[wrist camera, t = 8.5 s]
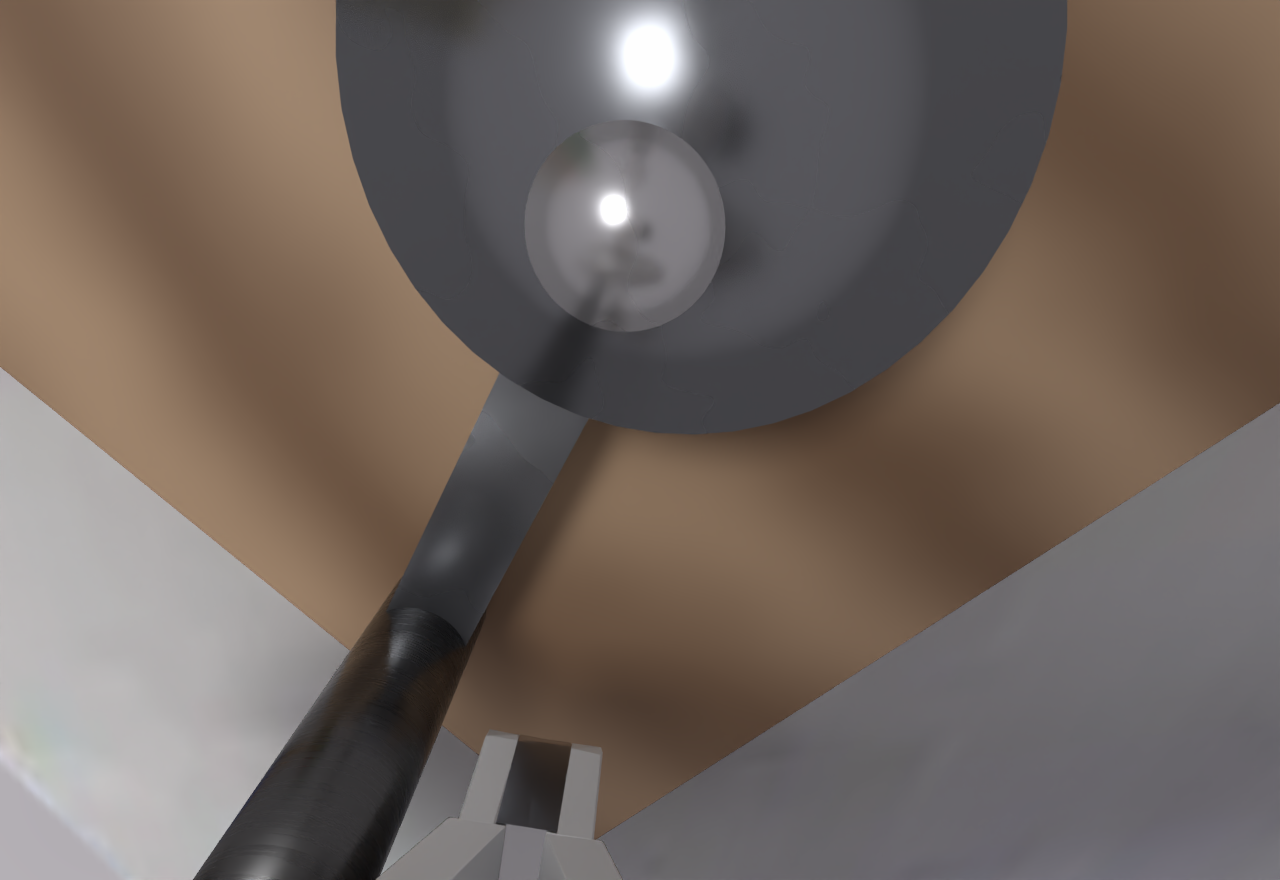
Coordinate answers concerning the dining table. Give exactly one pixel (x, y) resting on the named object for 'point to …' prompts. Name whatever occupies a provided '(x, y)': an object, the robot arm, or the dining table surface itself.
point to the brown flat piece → (605, 454)
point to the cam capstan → (637, 280)
